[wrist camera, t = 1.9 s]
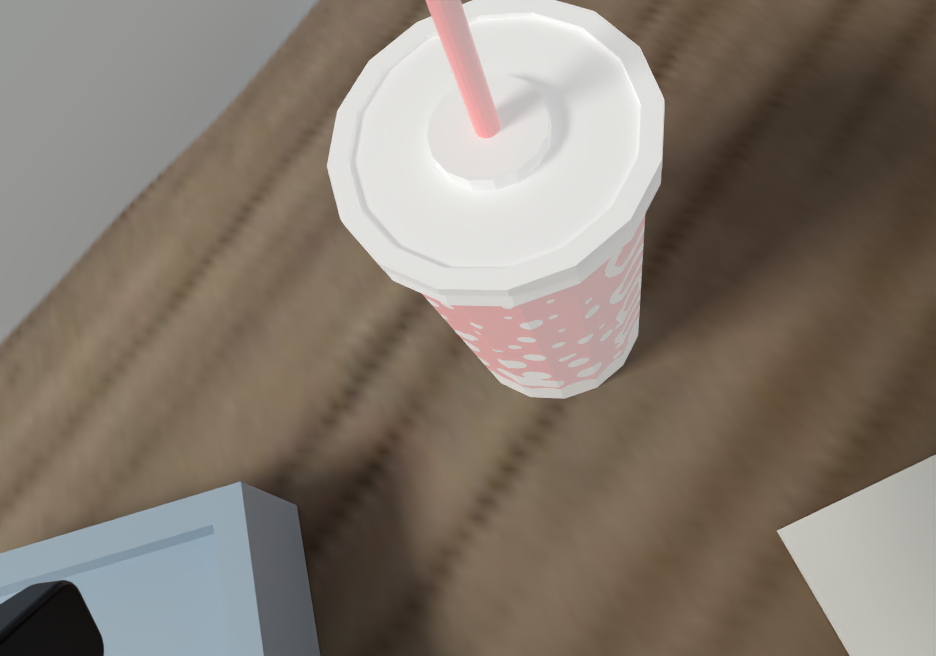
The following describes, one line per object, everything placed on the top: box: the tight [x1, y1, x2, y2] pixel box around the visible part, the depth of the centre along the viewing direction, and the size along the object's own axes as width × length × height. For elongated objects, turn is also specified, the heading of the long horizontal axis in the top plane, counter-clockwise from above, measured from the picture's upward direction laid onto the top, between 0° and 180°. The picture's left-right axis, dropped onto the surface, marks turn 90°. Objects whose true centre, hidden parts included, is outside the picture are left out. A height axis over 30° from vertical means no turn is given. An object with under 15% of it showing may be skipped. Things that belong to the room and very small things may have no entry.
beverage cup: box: [327, 0, 664, 398], centre depth 17 cm, size 6×6×14 cm
